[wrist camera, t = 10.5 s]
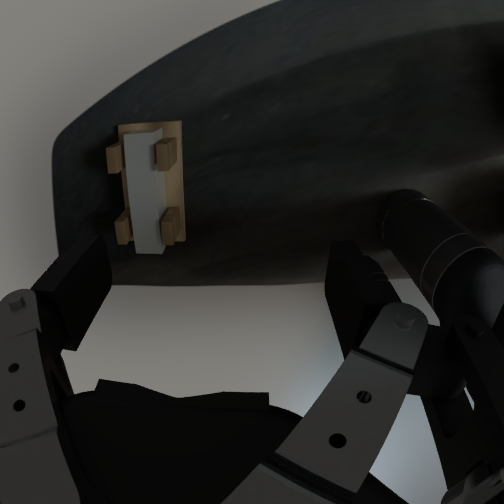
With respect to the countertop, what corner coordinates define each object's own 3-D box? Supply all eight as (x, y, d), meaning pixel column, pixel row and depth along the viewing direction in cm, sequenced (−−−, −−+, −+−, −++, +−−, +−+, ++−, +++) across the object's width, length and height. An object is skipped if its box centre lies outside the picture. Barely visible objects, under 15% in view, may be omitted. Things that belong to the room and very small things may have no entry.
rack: (181, 120, 36) (170, 125, 31) (186, 238, 44) (177, 260, 38) (120, 124, 36) (101, 131, 31) (131, 237, 44) (117, 258, 38)
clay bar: (162, 128, 36) (152, 132, 32) (169, 239, 43) (162, 253, 39) (135, 129, 35) (123, 134, 32) (144, 239, 43) (136, 253, 39)
